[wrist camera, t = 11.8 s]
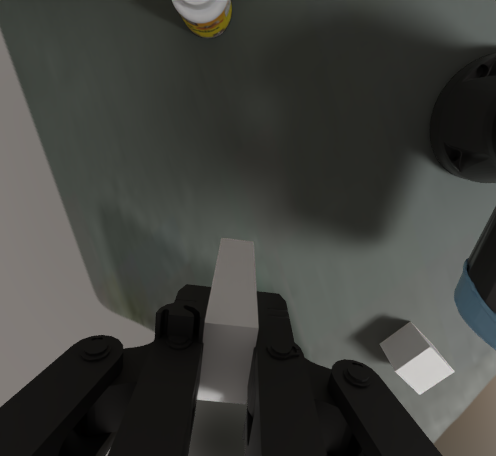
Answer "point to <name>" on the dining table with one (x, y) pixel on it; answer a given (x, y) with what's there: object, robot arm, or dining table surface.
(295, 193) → the dining table surface
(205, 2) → the supplement bottle
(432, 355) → the white cube
